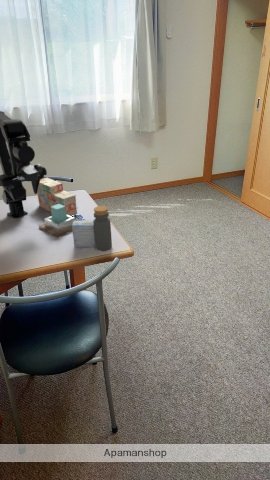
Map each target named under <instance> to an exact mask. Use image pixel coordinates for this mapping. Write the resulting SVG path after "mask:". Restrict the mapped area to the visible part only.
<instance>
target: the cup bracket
mask: <svg viewBox="0 0 270 480" xmlns="http://www.w3.org/2000/svg"><path fill="white" fill-rule="evenodd" d="M66 217H67V220H65V221H62V222H60V223H56V222H54V221H52V215H51V216H47V217H45V218H43V221H44V224H45V226H47V227H49V228H51V229H53V230H55V231H58V232H59V231H61V230H64V229H66V228H68V227H71V226H72V225H73V221H76V218H75V217H76V216H73V217H72V216H70V215H67V214H66Z"/></svg>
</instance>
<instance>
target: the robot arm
mask: <svg viewBox="0 0 270 480" xmlns="http://www.w3.org/2000/svg"><path fill="white" fill-rule="evenodd" d="M30 141H31V134H30V132H29V130H28V127H27V126H26V125H25V122H23V121H22V120H21V119H18V118H17V119H14V118H13V119H12V118H11V117H10V116H8V115H7V114H5V112H4V111H2V110H1V111H0V168H1V170H2V174H0V187H1V188H2V189H3V191H2V200H3V202H4V203H5V204H6V205H7V206H8V209H9V212H7V213H6V215H7V216H10V217H11V218H13V219H17V218H19V217H23V216H26V215H27V214H28V211H25V210H24V209H25V208H24V203H23V202H24V201H27V189H26V188H25V186H23V182H22V180H21V179H24V180H25V181H26V182H31V186H32V187H31V188H32V189H33V193H34V194H35V195H38V194H37V190H38V186H39V182H40V180H41V179H44V178H45V176H47V174H48V172H47V168H46V167H44V166H42V165H41V164H40V163H37V164H31V162H32V161H34V159H35V157H36V154H35V153H36V152H35V150H34V149H33V148H32V147H31V146H29V143H28V142H30Z"/></svg>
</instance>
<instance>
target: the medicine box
mask: <svg viewBox="0 0 270 480" xmlns="http://www.w3.org/2000/svg"><path fill="white" fill-rule="evenodd" d="M93 221H94V219H92V220H91V219H90V220H89V219H88V220H86V219H85V220H75V221H73V225H72V231H71V232H72V239H73V246H74V248H86V247H88V248H89V247H96V246H95V235H94V224H93Z"/></svg>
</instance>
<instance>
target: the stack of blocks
mask: <svg viewBox="0 0 270 480" xmlns="http://www.w3.org/2000/svg"><path fill="white" fill-rule="evenodd" d="M36 195H37V199H38V205H39V207H41V208H42V209H44V210H46V211H48V212H50V213H51V206H54V205H57V204H61V205H63V206H65V208H66V214H67V215H70V216H72V215H76V214H77V215H78V212H77V211H78V210H77V198H76V195H75V194H74V193H71V192H69V191H66V190H64V187H63V183H62V182H59V181H56V180H55V179H51V178H49V177H44V178H42V179H41V180H40V182H39V186H38V190H37V194H36ZM77 215H76V216H77Z"/></svg>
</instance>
